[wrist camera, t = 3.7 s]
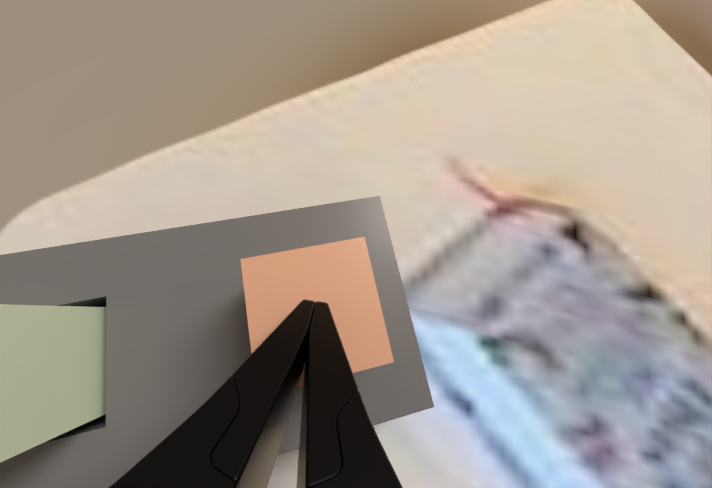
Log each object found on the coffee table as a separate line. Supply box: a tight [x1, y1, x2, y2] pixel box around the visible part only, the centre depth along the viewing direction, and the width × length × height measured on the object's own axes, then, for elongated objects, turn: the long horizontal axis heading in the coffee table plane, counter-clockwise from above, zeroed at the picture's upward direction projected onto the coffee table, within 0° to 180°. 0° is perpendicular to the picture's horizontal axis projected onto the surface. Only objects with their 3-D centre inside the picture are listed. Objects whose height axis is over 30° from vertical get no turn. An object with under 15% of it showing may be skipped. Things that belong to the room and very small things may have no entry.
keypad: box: [0, 196, 434, 488], centre depth 14 cm, size 11×21×5 cm, turn 102°
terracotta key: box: [240, 237, 394, 388], centre depth 12 cm, size 5×5×6 cm
